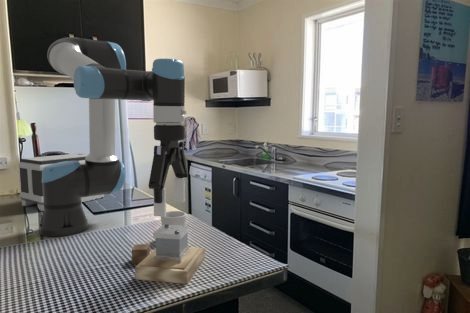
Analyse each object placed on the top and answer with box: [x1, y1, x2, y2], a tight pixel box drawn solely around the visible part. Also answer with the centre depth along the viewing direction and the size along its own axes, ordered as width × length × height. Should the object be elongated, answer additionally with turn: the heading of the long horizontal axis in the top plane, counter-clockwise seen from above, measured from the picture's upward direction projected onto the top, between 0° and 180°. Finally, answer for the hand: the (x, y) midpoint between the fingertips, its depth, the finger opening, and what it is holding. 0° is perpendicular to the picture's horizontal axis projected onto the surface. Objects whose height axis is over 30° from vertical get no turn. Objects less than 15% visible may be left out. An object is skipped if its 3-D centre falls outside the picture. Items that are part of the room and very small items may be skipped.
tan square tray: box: [134, 246, 206, 285], centre depth 90 cm, size 13×15×3 cm
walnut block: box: [131, 243, 151, 265], centre depth 95 cm, size 4×4×4 cm
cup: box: [160, 210, 187, 227], centre depth 114 cm, size 11×8×8 cm
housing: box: [152, 224, 191, 262], centre depth 90 cm, size 7×7×7 cm
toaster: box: [18, 152, 105, 212], centre depth 162 cm, size 18×34×21 cm, turn 146°
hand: (170, 208), depth 89 cm, fingers open, 13 cm apart
